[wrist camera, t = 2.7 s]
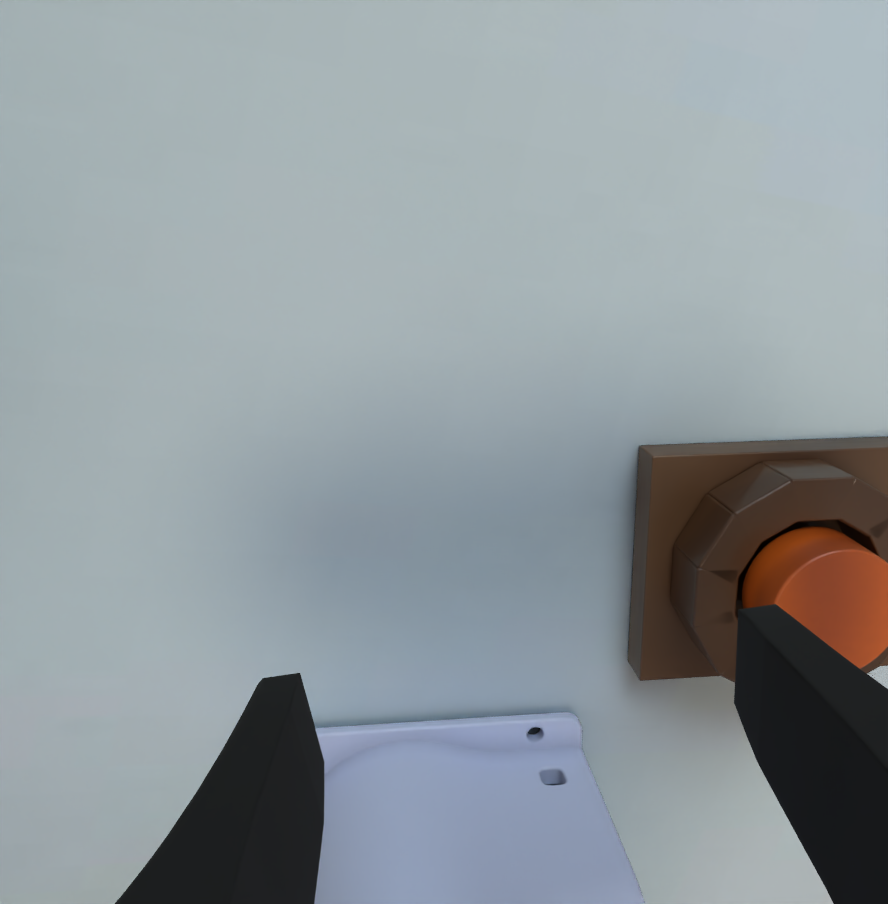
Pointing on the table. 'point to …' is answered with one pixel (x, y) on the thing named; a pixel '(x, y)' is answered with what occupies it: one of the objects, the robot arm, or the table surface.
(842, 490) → the button block
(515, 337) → the table surface
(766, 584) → the button
